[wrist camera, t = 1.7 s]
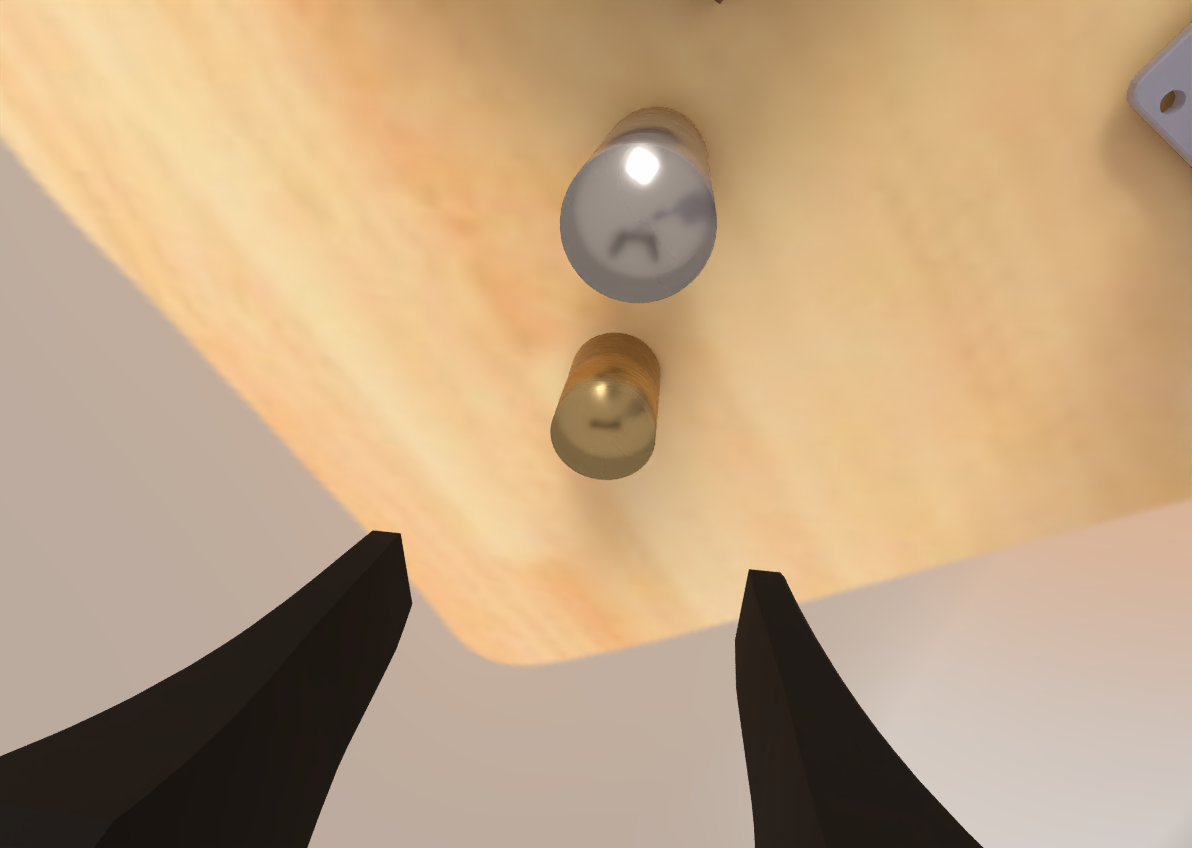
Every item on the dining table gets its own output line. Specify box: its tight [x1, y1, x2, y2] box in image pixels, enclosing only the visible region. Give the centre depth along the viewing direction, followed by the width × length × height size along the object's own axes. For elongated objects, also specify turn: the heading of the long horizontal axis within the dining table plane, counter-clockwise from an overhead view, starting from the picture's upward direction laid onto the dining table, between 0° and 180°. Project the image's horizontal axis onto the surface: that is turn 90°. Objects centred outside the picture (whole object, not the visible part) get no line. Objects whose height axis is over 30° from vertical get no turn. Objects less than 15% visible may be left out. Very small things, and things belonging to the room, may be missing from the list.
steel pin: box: [560, 107, 717, 303], centre depth 16 cm, size 3×3×7 cm
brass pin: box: [551, 333, 661, 480], centre depth 20 cm, size 3×3×4 cm
